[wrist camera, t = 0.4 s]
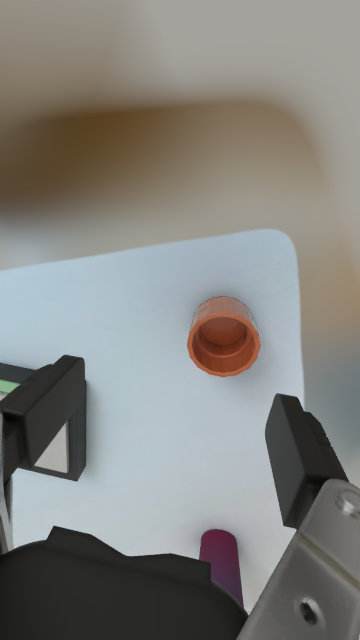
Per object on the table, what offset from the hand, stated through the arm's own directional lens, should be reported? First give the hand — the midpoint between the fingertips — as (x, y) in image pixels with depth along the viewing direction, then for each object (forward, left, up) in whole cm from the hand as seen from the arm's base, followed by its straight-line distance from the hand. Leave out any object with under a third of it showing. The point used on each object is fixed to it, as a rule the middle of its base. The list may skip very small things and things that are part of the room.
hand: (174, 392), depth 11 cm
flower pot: (+3, +3, -16) cm, 16 cm away
